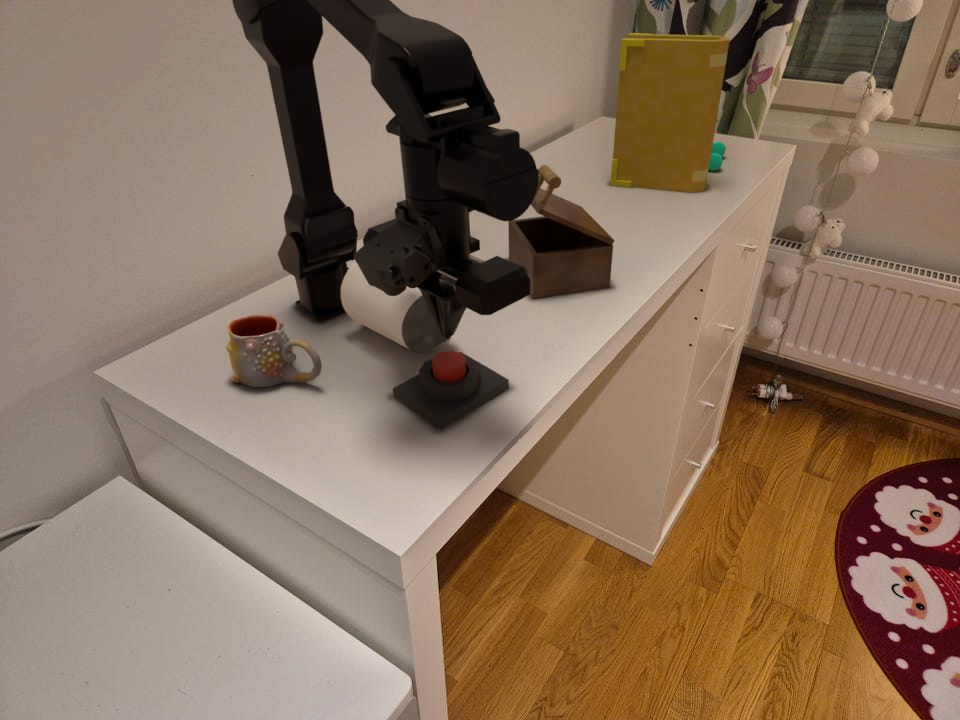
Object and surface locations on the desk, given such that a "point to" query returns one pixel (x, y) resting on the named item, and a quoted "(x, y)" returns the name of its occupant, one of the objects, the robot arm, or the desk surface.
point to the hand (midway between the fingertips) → (447, 335)
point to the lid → (564, 208)
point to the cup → (391, 312)
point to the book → (667, 110)
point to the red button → (449, 366)
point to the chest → (559, 257)
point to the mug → (266, 353)
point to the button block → (449, 392)
